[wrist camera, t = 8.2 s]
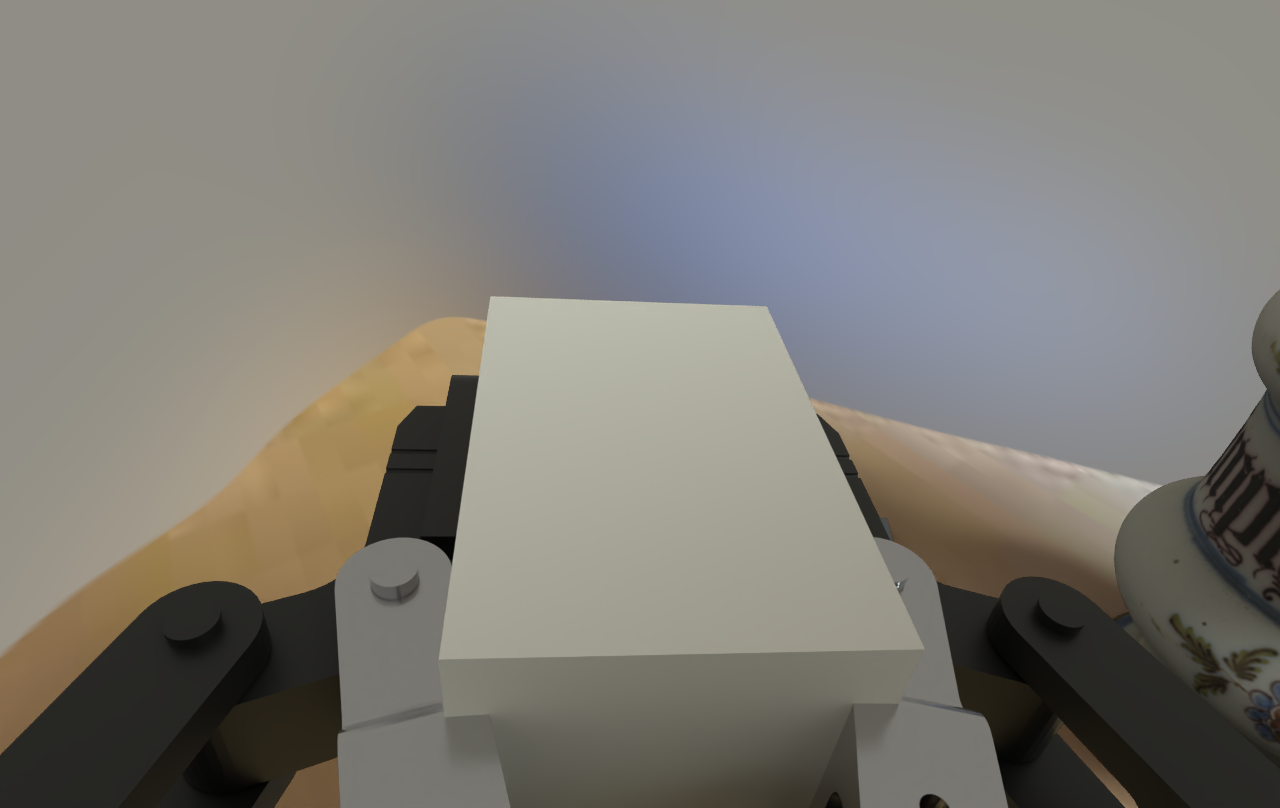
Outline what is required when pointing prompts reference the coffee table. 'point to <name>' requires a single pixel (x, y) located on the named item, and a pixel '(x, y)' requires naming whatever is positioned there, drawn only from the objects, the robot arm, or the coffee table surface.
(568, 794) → the tall cream pillar block
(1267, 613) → the apothecary jar
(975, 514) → the coffee table surface
